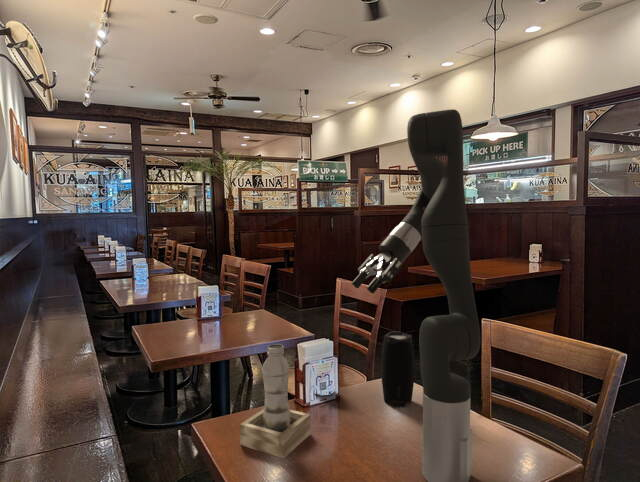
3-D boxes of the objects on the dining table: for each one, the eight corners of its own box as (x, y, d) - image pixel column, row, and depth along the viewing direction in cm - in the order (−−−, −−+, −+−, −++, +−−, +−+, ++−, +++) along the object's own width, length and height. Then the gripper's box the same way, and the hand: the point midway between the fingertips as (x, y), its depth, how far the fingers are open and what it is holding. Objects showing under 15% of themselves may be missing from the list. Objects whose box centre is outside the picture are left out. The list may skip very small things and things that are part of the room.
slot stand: (310, 434, 106) (310, 414, 106) (283, 458, 96) (283, 436, 95) (269, 423, 112) (269, 404, 112) (240, 445, 101) (240, 424, 101)
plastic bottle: (286, 436, 100) (285, 351, 99) (258, 434, 101) (257, 349, 100) (294, 423, 106) (293, 343, 105) (267, 421, 107) (266, 341, 106)
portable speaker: (386, 393, 131) (387, 329, 130) (417, 399, 126) (418, 333, 125) (377, 404, 123) (377, 336, 122) (409, 411, 119) (409, 340, 118)
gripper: (378, 232, 121) (340, 275, 117) (406, 234, 108) (365, 282, 104) (394, 250, 123) (358, 293, 120) (424, 254, 110) (384, 303, 106)
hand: (361, 288), depth 112 cm, fingers open, 8 cm apart
